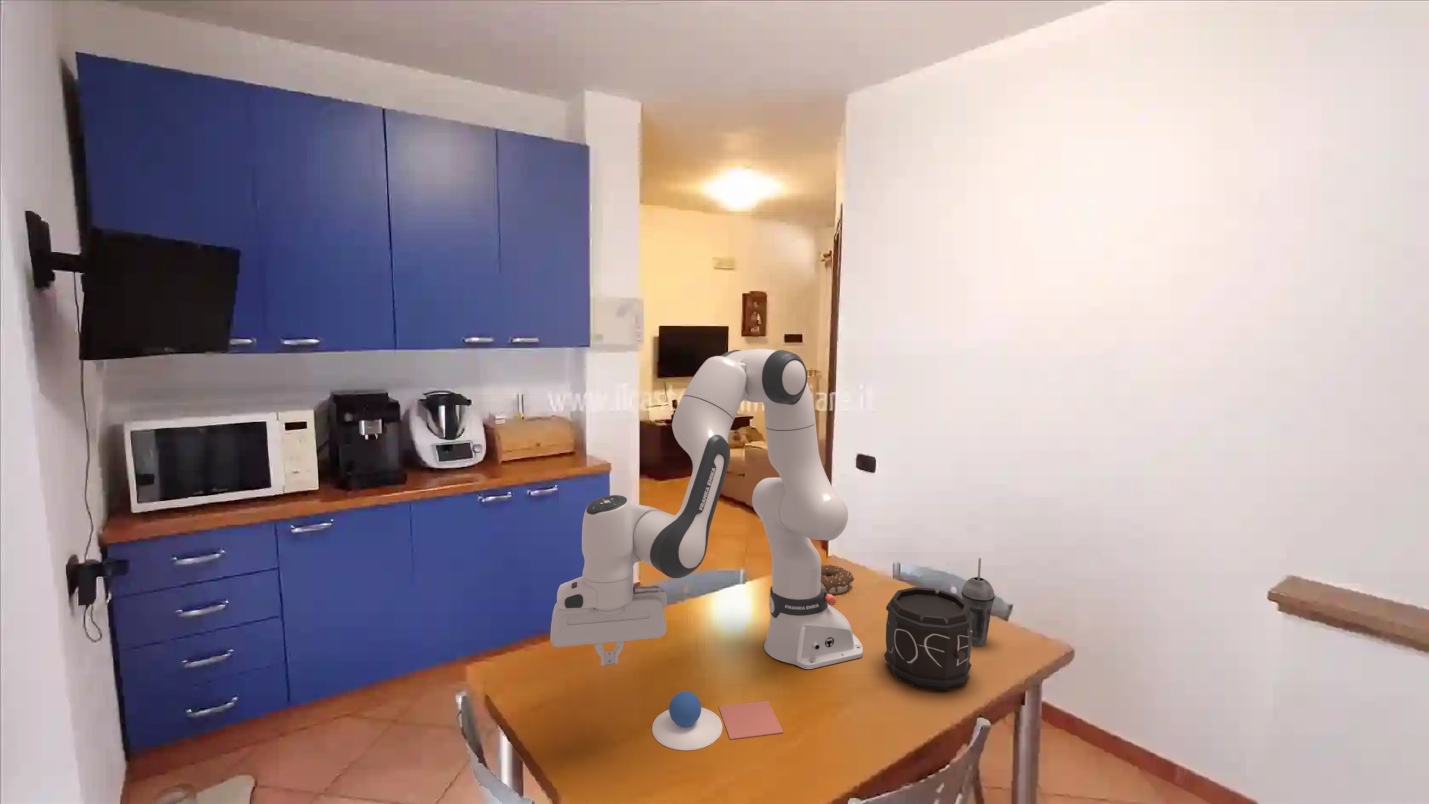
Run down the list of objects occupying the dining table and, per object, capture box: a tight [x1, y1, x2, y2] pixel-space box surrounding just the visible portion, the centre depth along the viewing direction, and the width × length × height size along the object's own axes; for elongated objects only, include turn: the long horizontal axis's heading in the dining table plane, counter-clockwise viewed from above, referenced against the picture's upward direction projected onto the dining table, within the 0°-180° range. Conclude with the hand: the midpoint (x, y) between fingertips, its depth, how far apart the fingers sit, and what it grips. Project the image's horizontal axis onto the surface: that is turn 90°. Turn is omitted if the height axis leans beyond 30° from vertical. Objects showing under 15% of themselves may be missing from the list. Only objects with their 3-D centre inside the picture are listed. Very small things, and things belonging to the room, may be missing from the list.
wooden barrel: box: [883, 586, 974, 692], centre depth 137 cm, size 18×18×16 cm
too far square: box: [718, 700, 784, 741], centre depth 121 cm, size 10×10×1 cm
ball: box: [668, 690, 702, 727], centre depth 119 cm, size 6×6×6 cm
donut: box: [821, 563, 855, 595], centre depth 183 cm, size 14×14×5 cm
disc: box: [651, 706, 723, 752], centre depth 118 cm, size 13×13×1 cm
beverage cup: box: [961, 557, 996, 647], centre depth 150 cm, size 7×7×20 cm
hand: (609, 663), depth 114 cm, fingers closed
